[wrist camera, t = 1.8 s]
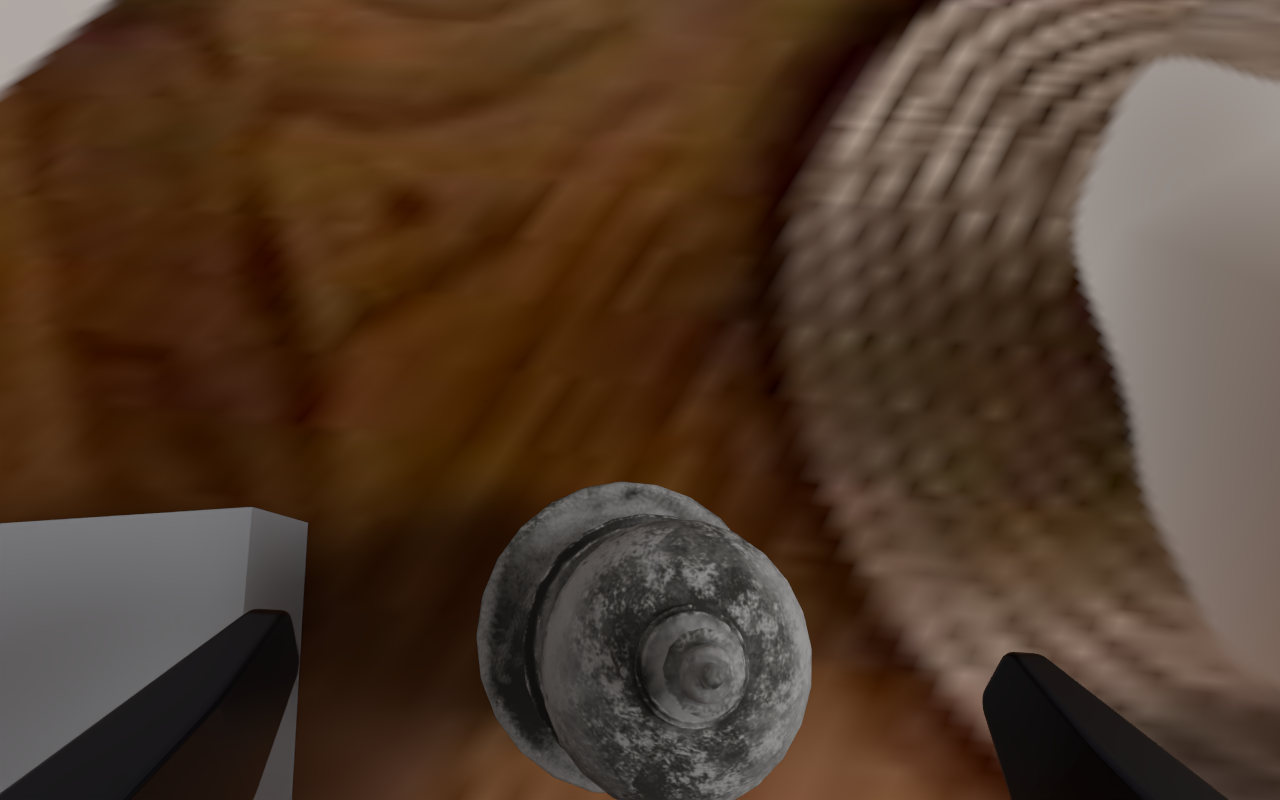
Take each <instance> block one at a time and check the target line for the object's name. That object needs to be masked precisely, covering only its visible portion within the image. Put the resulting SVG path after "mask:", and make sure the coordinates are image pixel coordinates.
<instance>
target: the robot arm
mask: <svg viewBox="0 0 1280 800" xmlns="http://www.w3.org/2000/svg"><path fill="white" fill-rule="evenodd" d="M298 669H299V652H298V647H297V642H296V637H295V632H294V627H293V622H292V618H291V615H290V614H289V613H288V612H287V611H284V610H274V609H253V610H250V611H248V612H246V613H245V614H243V615H242V616H240V617H239V618H238V619H236V620H235V621H234V622H232V623H231V624H229V625H228V626H227V627H225V628H224V629H223V630H221V631H220V632H219V633H217V634H216V635H215V636H213V637H212V638H210V639H209V640H208V641H206V642H205V643H204V644H202V645H201V646H200V647H198V648H197V649H195V650H194V651H193V652H191V653H190V654H189V655H187V656H186V657H185V658H183V659H182V660H181V661H179V662H178V663H176V664H175V665H174V666H172V667H171V668H170V669H168V670H167V671H166V672H164V673H163V674H161V675H160V676H159V677H157V678H156V679H155V680H153V681H152V682H151V683H149V684H148V685H147V686H145V687H144V688H142V689H141V690H140V691H138V692H137V693H136V694H134V695H133V696H132V697H130V698H129V699H127V700H126V701H125V702H123V703H122V704H121V705H119V706H118V707H117V708H115V709H114V710H113V711H111V712H110V713H108V714H107V715H106V716H104V717H103V718H102V719H100V720H99V721H98V722H96V723H95V724H94V725H92V726H91V727H89V728H88V729H87V730H85V731H84V732H83V733H81V734H80V735H79V736H77V737H76V738H74V739H73V740H72V741H70V742H69V743H68V744H66V745H65V746H64V747H62V748H61V749H60V750H58V751H57V752H55V753H54V754H53V755H51V756H50V757H49V758H47V759H46V760H45V761H43V762H42V763H40V764H39V765H38V766H36V767H35V768H34V769H32V770H31V771H30V772H28V773H27V774H26V775H24V776H23V777H21V778H20V779H19V780H17V781H16V782H15V783H13V784H12V785H11V786H9V787H8V788H6V789H5V790H4V791H2V792H1V793H0V800H254V798H255V795H256V792H257V790H258V787H259V784H260V781H261V778H262V776H263V773H264V770H265V767H266V764H267V761H268V758H269V755H270V752H271V750H272V747H273V744H274V741H275V738H276V735H277V732H278V729H279V727H280V724H281V721H282V718H283V715H284V712H285V709H286V706H287V704H288V701H289V698H290V695H291V692H292V689H293V686H294V683H295V680H296V677H297V674H298ZM983 710H984V715H985V718H986V721H987V724H988V727H989V731H990V734H991V737H992V740H993V744H994V747H995V750H996V753H997V756H998V760H999V763H1000V766H1001V769H1002V773H1003V776H1004V779H1005V782H1006V785H1007V789H1008V792H1009V795H1010V798H1011V800H1228V799H1227V798H1226V797H1225V796H1223V795H1222V794H1221V793H1219V792H1218V791H1217V790H1216V789H1214V788H1213V787H1212V786H1210V785H1209V784H1208V783H1207V782H1205V781H1204V780H1203V779H1201V778H1200V777H1199V776H1198V775H1196V774H1195V773H1194V772H1192V771H1191V770H1190V769H1189V768H1187V767H1186V766H1185V765H1183V764H1182V763H1181V762H1180V761H1178V760H1177V759H1176V758H1174V757H1173V756H1172V755H1171V754H1169V753H1168V752H1167V751H1165V750H1164V749H1163V748H1162V747H1160V746H1159V745H1158V744H1156V743H1155V742H1154V741H1153V740H1151V739H1150V738H1149V737H1147V736H1146V735H1145V734H1144V733H1142V732H1141V731H1140V730H1138V729H1137V728H1136V727H1135V726H1133V725H1132V724H1131V723H1129V722H1128V721H1127V720H1126V719H1124V718H1123V717H1122V716H1120V715H1119V714H1118V713H1117V712H1115V711H1114V710H1113V709H1111V708H1110V707H1109V706H1107V705H1106V704H1105V703H1104V702H1102V701H1101V700H1100V699H1098V698H1097V697H1096V696H1095V695H1093V694H1092V693H1091V692H1089V691H1088V690H1087V689H1086V688H1084V687H1083V686H1082V685H1080V684H1079V683H1078V682H1077V681H1075V680H1074V679H1073V678H1071V677H1070V676H1069V675H1068V674H1066V673H1065V672H1064V671H1062V670H1061V669H1060V668H1059V667H1057V666H1056V665H1055V664H1053V663H1052V662H1051V661H1050V660H1048V659H1047V658H1045V657H1044V656H1042V655H1039V654H1035V653H1021V652H1010V653H1007V654H1006V655H1004V656H1003V658H1002V659H1001V661H1000V663H999V665H998V666H997V668H996V670H995V672H994V674H993V676H992V677H991V679H990V681H989V683H988V685H987V686H986V688H985V690H984V693H983Z"/></svg>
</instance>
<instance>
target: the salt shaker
mask: <svg viewBox="0 0 1280 800" xmlns="http://www.w3.org/2000/svg"><path fill="white" fill-rule="evenodd" d="M476 638H477V647H478V656H479V665H480V675H481V680H482V683H483V685H484V688H485V691H486V693H487V696H488V698H489V701H490V704H491V706H492V709H493V711H494V714H495V717H496V719H497V720H498V722H499V723H500V724H501V726H502V727H503V728H504V730H505V731H506V732H507V734H508V735H509V736H510V738H511V739H512V740H513V742H514V743H515V745H516V746H517V747H518V749H519V750H520V751H521V752H522V753H523V754H524V755H525V756H527V757H528V758H529V759H531V760H532V761H533V762H535V763H536V764H537V765H539V766H540V767H541V768H542V769H544V770H545V771H546V772H548V773H549V774H550V775H552V776H553V777H554V778H557V779H559V780H562V781H565V782H567V783H570V784H573V785H575V786H578V787H581V788H583V789H586V790H589V791H591V792H598V793H608V794H609V795H610V796H612V797H613V798H615V799H618V800H735V799H736V798H738V797H740V796H741V795H743V794H745V793H746V792H748V791H750V790H751V789H753V788H755V787H756V786H758V785H759V784H760V783H761V781H762V780H763V779H764V778H765V777H766V776H767V775H768V774H769V773H770V772H771V771H772V770H773V769H774V767H775V766H776V765H777V764H778V763H779V762H780V761H781V760H782V759H783V758H784V756H785V754H786V752H787V750H788V748H789V747H790V745H791V743H792V741H793V739H794V737H795V735H796V734H797V732H798V730H799V728H800V726H801V724H802V720H803V716H804V713H805V709H806V705H807V701H808V697H809V693H810V689H811V645H810V640H809V636H808V631H807V627H806V623H805V618H804V614H803V611H802V609H801V607H800V605H799V603H798V601H797V599H796V597H795V595H794V593H793V591H792V589H791V587H790V585H789V583H788V581H787V580H786V579H785V577H784V576H783V575H782V574H781V573H780V571H779V570H778V569H777V568H776V567H775V566H774V564H773V563H772V562H771V561H770V560H769V558H768V557H767V556H766V555H765V554H764V553H762V552H761V551H759V550H758V549H757V548H755V547H754V546H752V545H751V544H750V543H748V542H747V541H745V540H744V539H743V538H741V537H740V536H738V535H737V534H735V533H734V532H732V531H731V530H730V529H729V528H728V527H727V526H726V524H725V523H724V522H723V521H722V520H721V519H720V518H719V517H717V516H716V515H714V514H713V513H712V512H710V511H709V510H707V509H706V508H705V507H703V506H702V505H700V504H699V503H697V502H696V501H695V500H693V499H692V498H690V497H687V496H684V495H682V494H679V493H676V492H674V491H671V490H668V489H666V488H663V487H660V486H658V485H649V484H639V483H629V482H616V483H610V484H604V485H598V486H592V487H586V488H583V489H581V490H579V491H577V492H574V493H572V494H570V495H568V496H565V497H563V498H561V499H559V500H557V501H554V502H552V503H550V504H549V505H548V506H547V507H546V508H544V509H543V510H542V511H541V512H539V513H538V514H537V515H536V516H534V517H533V518H532V519H531V520H529V521H528V522H527V523H526V524H524V525H523V526H522V527H521V528H520V530H519V531H518V532H517V534H516V535H515V536H514V538H513V539H512V540H511V542H510V543H509V544H508V546H507V547H506V548H505V550H504V551H503V552H502V554H501V555H500V556H499V558H498V559H497V562H496V564H495V567H494V569H493V572H492V574H491V576H490V579H489V581H488V584H487V586H486V588H485V591H484V593H483V596H482V602H481V609H480V616H479V623H478V630H477V637H476Z"/></svg>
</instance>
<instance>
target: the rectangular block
mask: <svg viewBox="0 0 1280 800" xmlns="http://www.w3.org/2000/svg"><path fill="white" fill-rule="evenodd" d="M307 531H308V523H307V522H304V521H300V520H296V519H293V518H289V517H286V516H282V515H279V514H275V513H272V512H268V511H265V510H261V509H258V508H254V507H244V508H229V509H214V510H198V511H183V512H168V513H153V514H137V515H122V516H107V517H92V518H77V519H61V520H46V521H31V522H16V523H0V793H1V792H2V791H4V790H5V789H6V788H8V787H9V786H11V785H12V784H13V783H15V782H16V781H17V780H19V779H20V778H21V777H23V776H24V775H26V774H27V773H28V772H30V771H31V770H32V769H34V768H35V767H36V766H38V765H39V764H40V763H42V762H43V761H45V760H46V759H47V758H49V757H50V756H51V755H53V754H54V753H55V752H57V751H58V750H60V749H61V748H62V747H64V746H65V745H66V744H68V743H69V742H70V741H72V740H73V739H74V738H76V737H77V736H79V735H80V734H81V733H83V732H84V731H85V730H87V729H88V728H89V727H91V726H92V725H94V724H95V723H96V722H98V721H99V720H100V719H102V718H103V717H104V716H106V715H107V714H108V713H110V712H111V711H113V710H114V709H115V708H117V707H118V706H119V705H121V704H122V703H123V702H125V701H126V700H127V699H129V698H130V697H132V696H133V695H134V694H136V693H137V692H138V691H140V690H141V689H142V688H144V687H145V686H147V685H148V684H149V683H151V682H152V681H153V680H155V679H156V678H157V677H159V676H160V675H161V674H163V673H164V672H166V671H167V670H168V669H170V668H171V667H172V666H174V665H175V664H176V663H178V662H179V661H181V660H182V659H183V658H185V657H186V656H187V655H189V654H190V653H191V652H193V651H194V650H195V649H197V648H198V647H200V646H201V645H202V644H204V643H205V642H206V641H208V640H209V639H210V638H212V637H213V636H215V635H216V634H217V633H219V632H220V631H221V630H223V629H224V628H225V627H227V626H228V625H229V624H231V623H232V622H234V621H235V620H236V619H238V618H239V617H240V616H242V615H243V614H245V613H246V612H248V611H250V610H253V609H274V610H284V611H287V612H288V613H289V614H290V615H291V618H292V622H293V627H294V632H295V637H296V642H297V647H298V652H299V668H300V650H301V633H302V616H303V599H304V582H305V565H306V548H307ZM298 685H299V669H298V674H297V677H296V680H295V683H294V686H293V689H292V692H291V695H290V698H289V701H288V704H287V706H286V709H285V712H284V715H283V718H282V721H281V724H280V727H279V729H278V732H277V735H276V738H275V741H274V744H273V747H272V750H271V752H270V755H269V758H268V761H267V764H266V767H265V770H264V773H263V776H262V778H261V781H260V784H259V787H258V790H257V792H256V795H255V798H254V800H292V787H293V770H294V753H295V736H296V719H297V702H298Z"/></svg>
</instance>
